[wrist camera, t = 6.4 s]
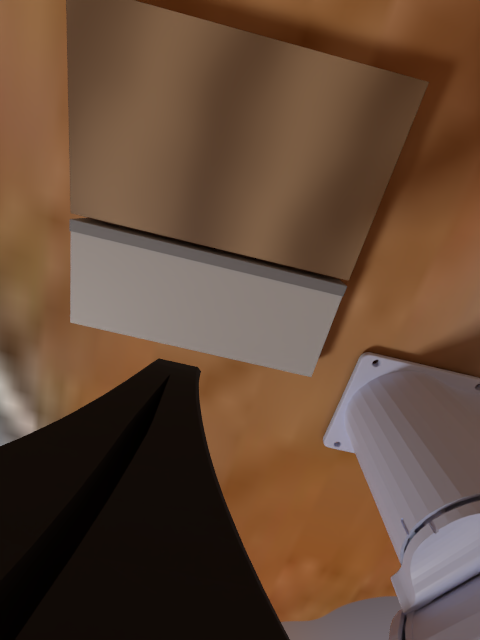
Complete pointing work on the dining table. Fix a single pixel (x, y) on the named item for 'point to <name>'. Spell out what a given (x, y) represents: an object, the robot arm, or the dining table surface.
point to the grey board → (199, 297)
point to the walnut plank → (229, 135)
